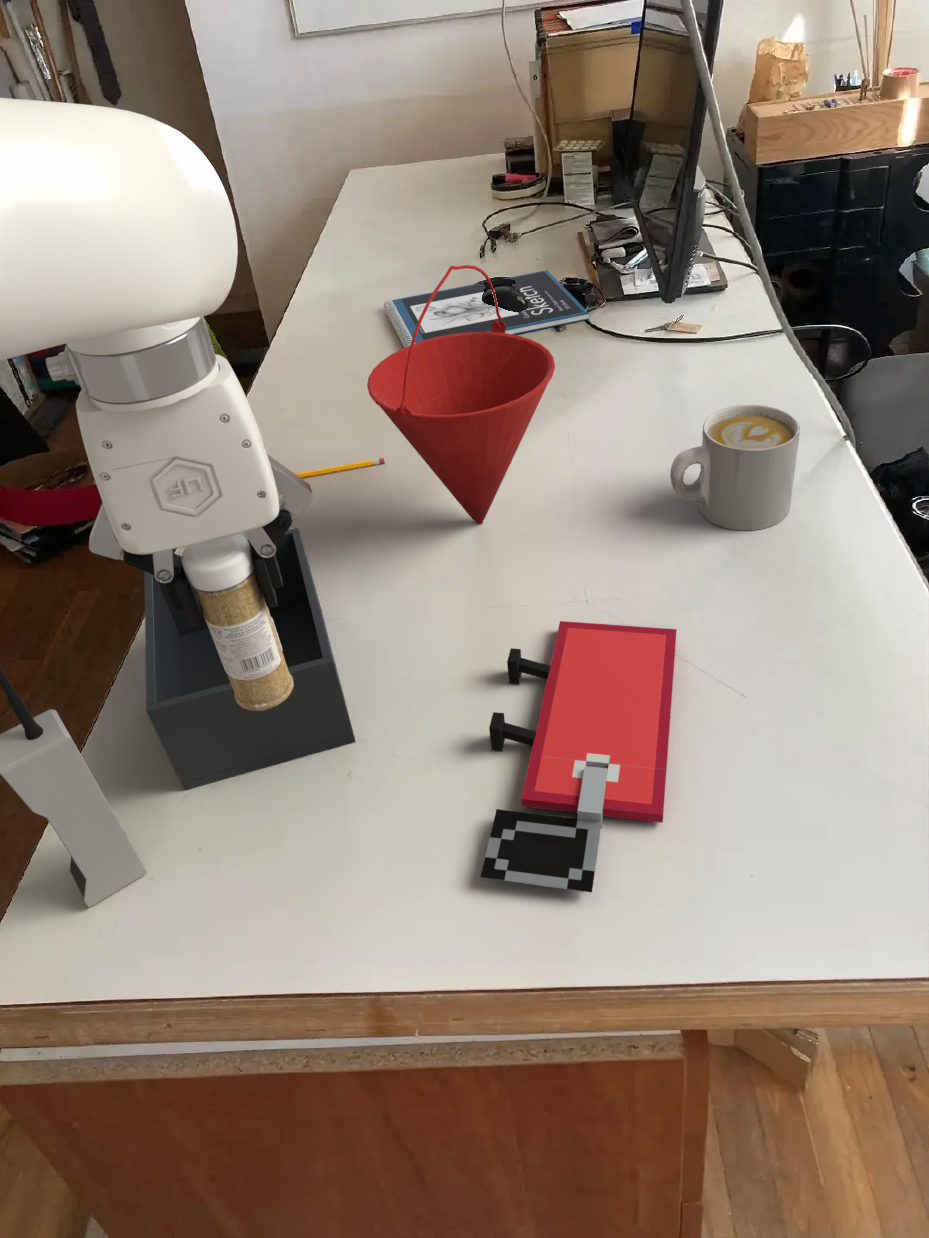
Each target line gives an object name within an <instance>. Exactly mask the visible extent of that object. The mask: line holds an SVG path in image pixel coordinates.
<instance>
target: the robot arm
mask: <svg viewBox="0 0 929 1238" xmlns="http://www.w3.org/2000/svg"><path fill="white" fill-rule="evenodd" d="M235 221H236V220H235V217H234V213H233V209H232V205H231V203H230V200H229V196H228V194H227V192H226V190H225V187H224V185H223V183H222V181H221V179H220V177H219V175H218V173H217V172H216V170H215V168H214V167H213V165H212V163H210V161H209V159H208V158H207V157H206V155H205V154H204V153H203V151H201V150H200V149H199V147H198V146H197V145H196V144H195V143H194V142H193V141H192V140H190V139H189V138H188V137H187V136H186V135H185V134H183V133H182V132H180V131H179V130H177V129H176V128H174V127H172V126H170V125H168V124H166V123H164V122H162V121H159V120H157V119H155V118H152V117H150V116H147V115H145V114H141V113H139V112H138V113H137V112H134V111H131V110H126V109H121V108H116V107H110V106H101V105H95V104H83V103H72V102H63V101H61V102H60V101H48V100H37V99H24V98H23V99H22V98H8V97H0V362H1V361H5V360H9V359H12V358H17V357H20V356H23V355H28V354H31V353H35V352H39V351H42V350H47V349H49V348H50V349H51V348H54V347H58V346H62V345H65V346H64V351H61V352H58V354H57V355H55V356H51V357H46V358H45V364H46V368H47V371H48V375H49V376H50V378H51V380H52V381H53V382H54V383H55V382H56V383H57V382H60V381H64V380H65V381H67V382H71V381H74V382H75V384H76V385H77V386H80V392H79V393H78V397H77V399H76V401H75V410H76V416H77V421H78V427H79V430H80V434H81V435H80V436H81V438H82V443H83V446H84V449H85V453H86V456H87V459H88V464H89V466H90V469H91V472H92V475H93V478H94V482H95V485H96V487H97V490H98V493H99V495H100V498H101V501H102V503H101V505H100V508H99V511H98V513H97V515H96V518H95V521H94V524H93V526H92V529H91V531H90V534H89V541H88V549H89V551H90V552H91V553H92V554H94V555H99V556H101V557H106V558H109V559H113V560H116V561H119V560H121V561H123V562H124V563H125V564H126V565H128V566H130V567H133V568H135V569H138V570H140V571H143V572H144V571H145V572H147V573H150V574H152V575H154V576H155V579H156V580H157V581H158V582H160V583H164V584H165V587H166V589H167V592H168V594H169V597H170V599H171V602H172V604H173V606H174V609H175V611H176V613H179V612H183V611H184V612H185V614H186V617H187V619H188V622H189V624H190V626H191V627H195V626H199V623H201V611H200V603H199V600H198V597H197V595H196V592H195V590H194V589H193V587H192V585H191V584H190V583H189V582H188V579H187V577H186V574H185V571H184V569H183V566H182V562H181V557H180V556H181V554H177V553H175V552H174V550H177V549H181V548H186V547H187V546H189V545H194V544H198V543H202V542H206V541H210V540H214V539H218V538H223V537H227V536H231V535H235V534H244V536H245V538H246V539H247V540H249V541H250V547H251V551H252V560H253V565H254V568H255V571H256V574H257V578H258V581H259V584H260V587H261V590H262V593H263V596H264V599H265V602H266V605H267V606H270V607H274V606H278V605H277V599H276V594H275V588H278V587H282V586H283V581H282V577H281V573H280V570H279V566H278V563H277V560H276V557H275V552H276V546H277V544H278V543H279V542H280V540H281V539H282V537H283V536H284V535H285V533H286V532H287V530H289V529H290V528H291V527H292V525H293V521H294V520H295V518H298V517H299V516H300V515H301V514H302V513H303V511H304V510H306V508H307V507H308V506H309V505H310V504H311V503H312V502H313V500H314V494H313V490H312V488H311V484H310V483H309V482H308V481H306V480H304V478H300V477H299V476H297V475H296V473H295V472H293V471H291V469H289V468H288V467H286V466H285V465H283V464H282V463H281V462H279V461H278V460H276V459H275V458H273V456H270V455H269V454H268V452H267V449H266V446H265V442H264V440H263V437H262V434H261V430H260V428H259V425H258V422H257V420H256V418H255V415H254V413H253V409H252V407H251V404H250V403H249V400H248V398H247V395H246V394H245V392H244V389H243V387H242V385H241V382H240V381H239V379H238V377H237V375H236V373H235V371H234V369H233V368H232V366H231V364H230V362H229V361H228V359H226V357H224V356H222V355H220V354H216V353H215V350H214V346H213V343H212V339H211V336H210V332H209V330H208V326H207V323H206V319H205V317H207V316H208V315H209V316H210V315H211V314H213V313H215V312H216V311H217V310H218V309H219V308H220V307H221V306H222V305H223V303H224V302H225V301H226V299H227V297H228V295H229V293H230V291H231V289H232V286H233V283H234V280H235V277H236V271H237V265H238V254H239V250H238V247H239V246H238V234H237V226H236V222H235ZM279 493H280V494H282V496H281V497H280V498H279Z"/></svg>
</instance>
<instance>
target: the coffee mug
mask: <svg viewBox="0 0 929 1238" xmlns="http://www.w3.org/2000/svg"><path fill="white" fill-rule="evenodd" d="M800 433H801V426H800V424H799V422H798V419H796V418H795V416H793V415H792V414H791V413H789V412H787V411H785V410H782V409H780V408H777V407H774V406H770V405H769V406H768V405H764V404H763V405H762V404H739V405H732V406H729V407H728V406H727V407H725V408H722V409H719V410H716V411H714V412H713V413H712V414H710V415H709V416H708V417H707V418H706V419H705V420H704V422H703V426H702V435H701V436H702V437H701V439H702V441H701V445H699V446H695V447H690V448H688V449H684V450H683V451H680V452H679V453H678V454H677V455H676V456H675V457H674V459H673V461H672V464H671V466H670V473H669V474H670V475H669V479H670V484H671V486H672V489H673V491H674V492H675V493H676V495H677V496H679V497H681V498H683V499H687V500H692V501H697V502H698V509H699V511H700V513H701V515H702V516H703V517H704V518H705V519H706V520H708V521H709V522H711V523H712V524H714V525H716V526H719V527H722V528H725V529H729V530H733V531H734V530H736V531H758V530H764V529H768V528H771V527H773V526H775V525H776V526H777V524H779V523H781V522H783V520H785V518H787V516H788V515H789V512H790V509H791V502H792V494H793V486H794V480H795V472H796V466H797V465H796V463H797V456H798V449H799V442H800V441H799V440H800ZM695 464H698V465H700V472H699V474H698V477H697V478H696V480H695V481H693V482H692V483H690V484H687V483H685V482H684V475H685V474H686V470H687V469H688V468H689V467H691V466H692V465H695Z"/></svg>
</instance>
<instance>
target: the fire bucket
mask: <svg viewBox="0 0 929 1238" xmlns="http://www.w3.org/2000/svg"><path fill="white" fill-rule="evenodd" d="M464 269H470V270H475V271H477V272H479V273H481V275H482V276H483V277H484V278H485V279H486V282H488V283H489V285H490V288H491V291H492V294H493V298H494V302H495V307H496V314H497V317H498V318H499V320H497V321H494V322H493V323H492V330H491V332H467V333H458V334H450V335H445V336H440V337H435V338H431V339H428V340H424V341H421V342H418V343H415V339H416V336H417V333H418V330H419V327H420V325H421V322H422V319H423V317H424V315H425V313H426V311H427V309H428V307H429V305H430V303H431V301H432V300H433V298H434V296H435V295H436V293H437V291H440V288H441V287H442V286H443V284H444V283H445V281H446V280H447V279H448V277H449V276H450V274H451V272H452V271H453V270H454V271H457V270H464ZM491 281H492V280H491V279H490V277H489V275H488V274H487V273H486V272H485V271H484V270H483V269H482V268H480V267H478V266H476V265H473V264H472V265H471V264H464V265H457V266H456V265H451V266H449V267H448V269H447V271H446V273H445V274H444V275H443V277H442V278H441V280H440V281H439V282H438V284H437V286H436V287H435V289H434V290H433V291H432V292H433V293H432V292H431V293H432V295H431V297H430V298H429V300H428V302H427V303H426V306H425V308H424V310H423V312H422V314H421V316H420V318H419V321H418V324H417V326H416V329H415V332H414V335H413V338H412V342H411V345H410V346H407V345H406V346H407V347H405V348H404V347H402V348H401V349H399V350H397V351H395V352H393V353H391V354H390V355H388V356H387V357H385V358H384V359H382V360H381V361H379V363H377V365H376V366H375V367H373V369H372V371H371V373H370V374H369V376H368V379H367V385H366V388H367V390H368V391H367V392H368V394H369V397H370V398H371V399H372V400H373V402H374V403H375V404H376V405H377V406H379V407H380V409H381V410H382V411H383V412H384V413H385V415H386V416H387V417H388V419H389V420H390V421H391V422H392V424H394V426H395V427H396V428H397V429H398V431H399V432H400V433H401V434H402V436H403V437H404V438H405V439H406V440H407V442H408V443H409V444H410V445H411V447H412V448H413V449H414V450H415V452H416V453H417V454H418V456H420V458H422V460H423V461H424V463H426V465H427V466H428V467H429V468H430V470H431V471H432V472H433V473H434V474H435V476H436V477H437V478H438V479H439V480H440V482H441V483H442V485H444V487H445V488H446V489H447V490H448V491H449V492H450V494H451V495H452V497H453V498H454V499H455V500H456V501H457V502H458V503H459V505H460V506H461V507H462V508H463V510H464V511H465V513H467V515H468V516H469V517H470V518H471V519H472V521H474V522H475V524H479V525H480V524H481V525H482V524H484V520H485V519H486V517H487V515H488V513H489V510H490V508H491V506H492V504H493V502H494V500H495V497H496V495H497V493H498V491H499V489H500V487H501V485H502V483H503V480H504V478H505V476H506V474H507V472H508V470H509V468H510V466H511V463H512V462H513V459H514V457H515V454H516V453H517V451H518V448H519V446H520V444H521V442H522V441H523V438H524V435H525V433H526V432H527V429H528V427H529V425H530V424H531V421H532V419H533V417H534V415H535V412H536V411H537V409H538V406H539V404H540V401H541V400H542V398H543V396H544V393H545V391H546V389H547V387H548V385H549V383H550V381H551V380H552V379H553V376H554V372H555V369H556V364H555V358H554V356H553V354H552V353H551V352H550V350H549V348H547V347H545V346H544V345H543V344H542V343H539V342H537V341H536V340H533V339H531V338H528V337H526V336H523V335H522V336H521V335H519V334H514V335H513V334H507V333H505V331H506V325H505V323H504V322H502V318H501V316H500V314H499V309H498V302H497V298H496V294H495V290H494V288H493V285H492V282H491ZM500 327H501V328H500ZM414 343H415V344H414Z"/></svg>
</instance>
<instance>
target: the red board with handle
mask: <svg viewBox="0 0 929 1238" xmlns="http://www.w3.org/2000/svg"><path fill="white" fill-rule="evenodd" d="M676 641H677V628H665V627H664V628H663V627H650V626H649V627H648V626H634V625H623V624H622V625H621V624H607V623H593V622H577V621H565V620H564V621H563V620H560V621H559V623H558V629H557V633H556V637H555V642H554V647H553V652H552V655H551V660H550V665H549V664H545V663H542V662H538V661H534V660H531V659H527V658H524V657H522V650H521V648H513V647H510V649H509V653H508V657H507V661H506V664H507V665H506V666H507V676H508V685H520V681H521V677H522V674H526V675H528V676H532V677H536V678H540V679H543V680H546V683H545V688H544V693H543V696H542V701H541V706H540V710H539V715H538V720H537V724H536V728H535V730H533V729H529V728H526V727H522V726H518V725H515V724H511V723H507V722H506V719H505V713H504V712H497V711H493V712H492V716H491V720H490V723H489V727H488V730H489V738H490V748H491V751H497V752H503V749H504V745H505V742H506V740H508V741H513V742H516V743H518V744H519V743H520V744H522V745H523V744H524V745H527V746H529V747H531V752H530V756H529V761H528V765H527V769H526V775H525V779H524V783H523V788H522V791H521V792H522V793H521V798H520V801H521V802H520V803H521V807H526V808H533V809H543V810H550V811H558V812H566V813H567V812H568V813H576V814H577V817H570V816H569V817H567V816H561V815H559V816H558V815H551V814H544V813H536V812H535V813H534V812H526V811H525V812H524V811H517V810H508V809H500V808H496V810H495V814H494V819H493V821H492V825H491V829H490V835H489V838H488V843H487V847H486V850H485V851H486V852H485V855H484V859H483V863H482V868H481V871H480V876H479V878H480V879H481V878H482V879H488V880H496V881H504V882H511V883H519V884H526V885H534V886H539V887H541V886H542V887H548V888H555V889H562V890H571V891H579V892H584V893H593V889H594V880H595V873H596V866H597V857H598V851H599V844H600V836H601V829H602V828H603V820H604V817H610V818H611V817H612V818H618V819H619V818H620V819H627V820H636V821H647V822H653V823H663V821H664V811H665V810H664V809H665V794H666V780H667V768H668V755H669V753H668V752H669V742H670V741H669V738H670V725H671V712H672V699H673V683H674V671H675V670H674V669H675V657H676V656H675V655H676V644H677V642H676Z"/></svg>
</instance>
